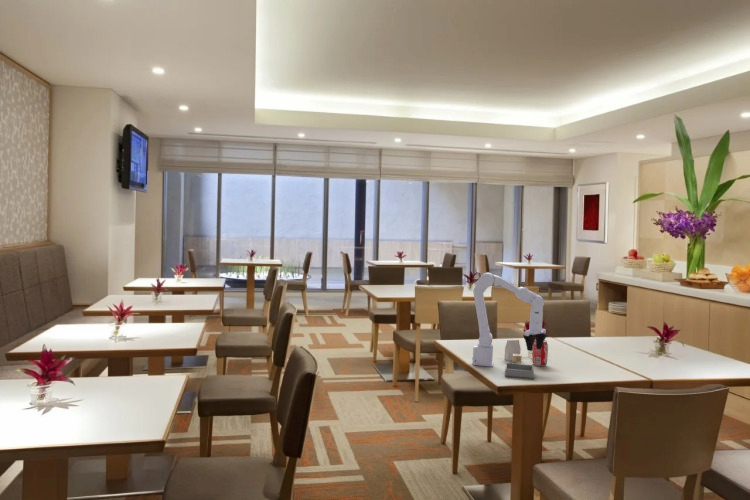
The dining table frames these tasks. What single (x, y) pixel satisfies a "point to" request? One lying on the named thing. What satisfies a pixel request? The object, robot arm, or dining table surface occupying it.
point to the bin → (519, 371)
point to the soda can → (540, 354)
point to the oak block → (517, 358)
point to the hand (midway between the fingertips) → (534, 349)
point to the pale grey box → (512, 349)
